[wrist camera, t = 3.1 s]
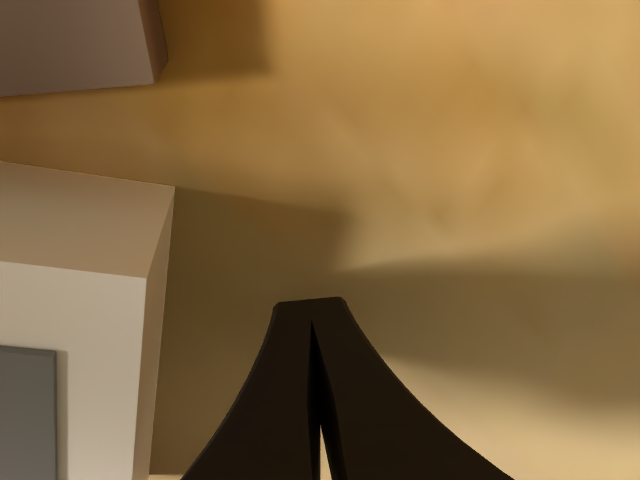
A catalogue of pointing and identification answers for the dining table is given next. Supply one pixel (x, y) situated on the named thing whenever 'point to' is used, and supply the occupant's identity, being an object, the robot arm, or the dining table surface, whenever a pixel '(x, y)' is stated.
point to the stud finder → (80, 322)
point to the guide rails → (79, 45)
